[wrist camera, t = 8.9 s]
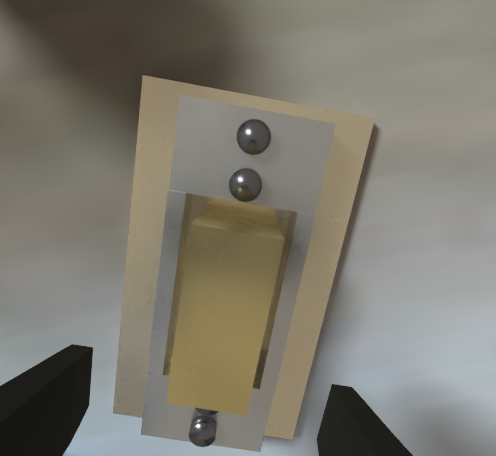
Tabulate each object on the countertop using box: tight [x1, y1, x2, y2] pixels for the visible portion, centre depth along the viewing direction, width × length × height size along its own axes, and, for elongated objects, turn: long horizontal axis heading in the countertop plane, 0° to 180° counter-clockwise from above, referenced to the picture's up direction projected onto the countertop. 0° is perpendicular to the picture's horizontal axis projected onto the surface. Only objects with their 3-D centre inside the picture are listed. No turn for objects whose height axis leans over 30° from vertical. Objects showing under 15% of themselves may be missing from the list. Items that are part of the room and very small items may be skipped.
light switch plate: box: [113, 75, 375, 452], centre depth 16 cm, size 19×11×3 cm, turn 170°
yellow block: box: [166, 203, 284, 415], centre depth 15 cm, size 8×4×4 cm, turn 170°
